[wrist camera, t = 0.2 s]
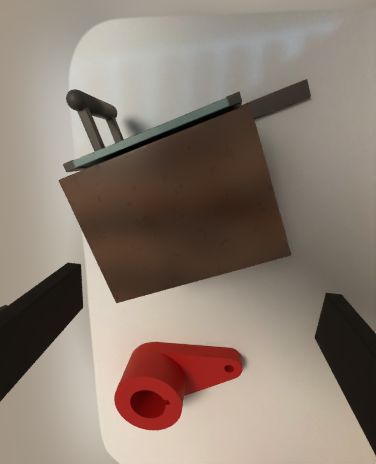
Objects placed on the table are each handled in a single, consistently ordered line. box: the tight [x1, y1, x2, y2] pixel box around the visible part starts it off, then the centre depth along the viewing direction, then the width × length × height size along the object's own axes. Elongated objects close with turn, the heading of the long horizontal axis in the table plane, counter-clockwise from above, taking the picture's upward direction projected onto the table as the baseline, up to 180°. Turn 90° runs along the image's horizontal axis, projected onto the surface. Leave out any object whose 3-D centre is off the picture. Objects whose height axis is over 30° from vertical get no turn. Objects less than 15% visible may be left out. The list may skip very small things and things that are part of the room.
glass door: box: [63, 90, 242, 172], centre depth 25 cm, size 6×15×11 cm, turn 110°
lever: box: [114, 342, 242, 430], centre depth 38 cm, size 18×9×7 cm, turn 105°
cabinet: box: [59, 79, 311, 303], centre depth 26 cm, size 13×24×14 cm, turn 110°
